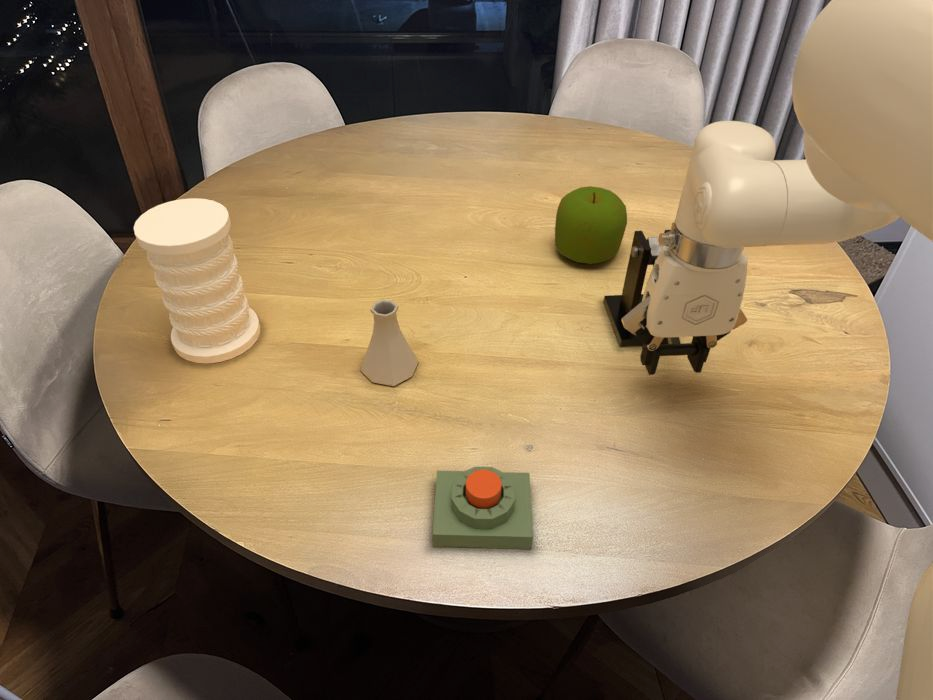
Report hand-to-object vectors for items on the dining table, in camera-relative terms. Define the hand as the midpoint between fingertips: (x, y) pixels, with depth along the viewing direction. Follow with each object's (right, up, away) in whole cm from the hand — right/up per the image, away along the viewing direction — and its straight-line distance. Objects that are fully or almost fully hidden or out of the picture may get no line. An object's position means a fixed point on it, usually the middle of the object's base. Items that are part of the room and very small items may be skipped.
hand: (671, 365), depth 84 cm
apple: (-6, +17, +25) cm, 31 cm away
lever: (0, +8, +2) cm, 9 cm away
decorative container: (-60, +4, +9) cm, 61 cm away
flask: (-36, -1, +4) cm, 36 cm away
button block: (-24, -16, -13) cm, 31 cm away
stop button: (-24, -13, -15) cm, 31 cm away
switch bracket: (-1, +6, +12) cm, 13 cm away
